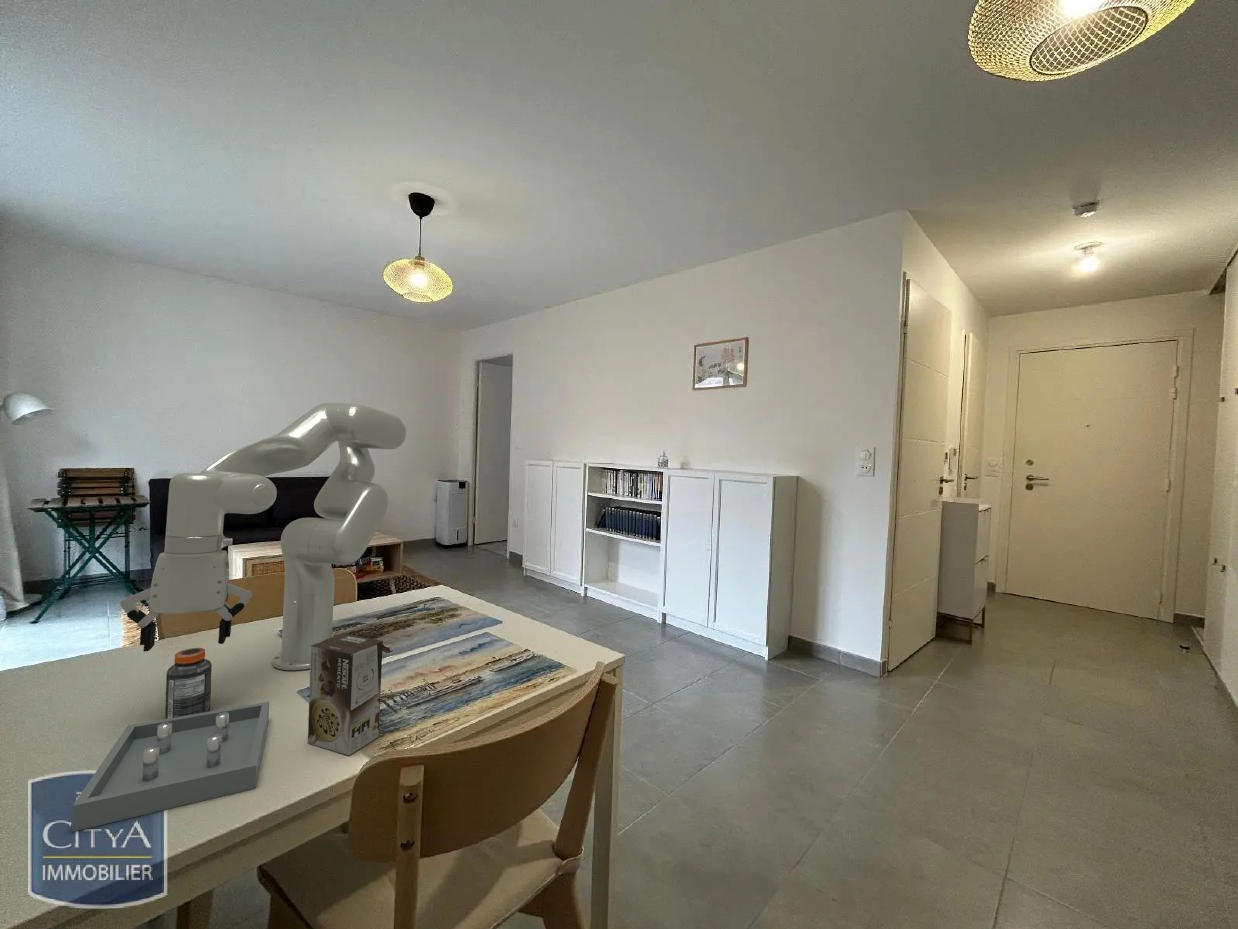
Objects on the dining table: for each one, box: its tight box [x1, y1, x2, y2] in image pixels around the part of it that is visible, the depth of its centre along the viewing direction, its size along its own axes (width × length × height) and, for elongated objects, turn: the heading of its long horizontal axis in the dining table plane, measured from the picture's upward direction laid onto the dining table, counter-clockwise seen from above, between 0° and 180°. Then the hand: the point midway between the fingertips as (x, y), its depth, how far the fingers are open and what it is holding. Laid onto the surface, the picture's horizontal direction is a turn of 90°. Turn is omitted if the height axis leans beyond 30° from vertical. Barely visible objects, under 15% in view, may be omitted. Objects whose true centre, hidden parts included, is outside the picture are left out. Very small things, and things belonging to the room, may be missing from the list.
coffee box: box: [307, 633, 384, 756], centre depth 82 cm, size 9×6×16 cm
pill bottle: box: [164, 647, 213, 719], centre depth 86 cm, size 6×6×11 cm
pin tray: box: [71, 701, 270, 833], centre depth 73 cm, size 18×20×5 cm
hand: (186, 645), depth 85 cm, fingers open, 9 cm apart
